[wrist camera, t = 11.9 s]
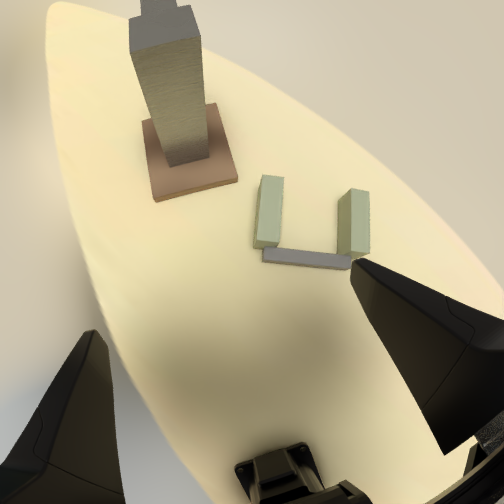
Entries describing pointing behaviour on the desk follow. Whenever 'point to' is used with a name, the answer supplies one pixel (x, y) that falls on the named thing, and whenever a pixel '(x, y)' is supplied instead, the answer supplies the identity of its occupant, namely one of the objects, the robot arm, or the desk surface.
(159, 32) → the stepped metal bracket
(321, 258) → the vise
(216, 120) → the walnut board
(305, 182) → the desk surface
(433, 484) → the desk surface
